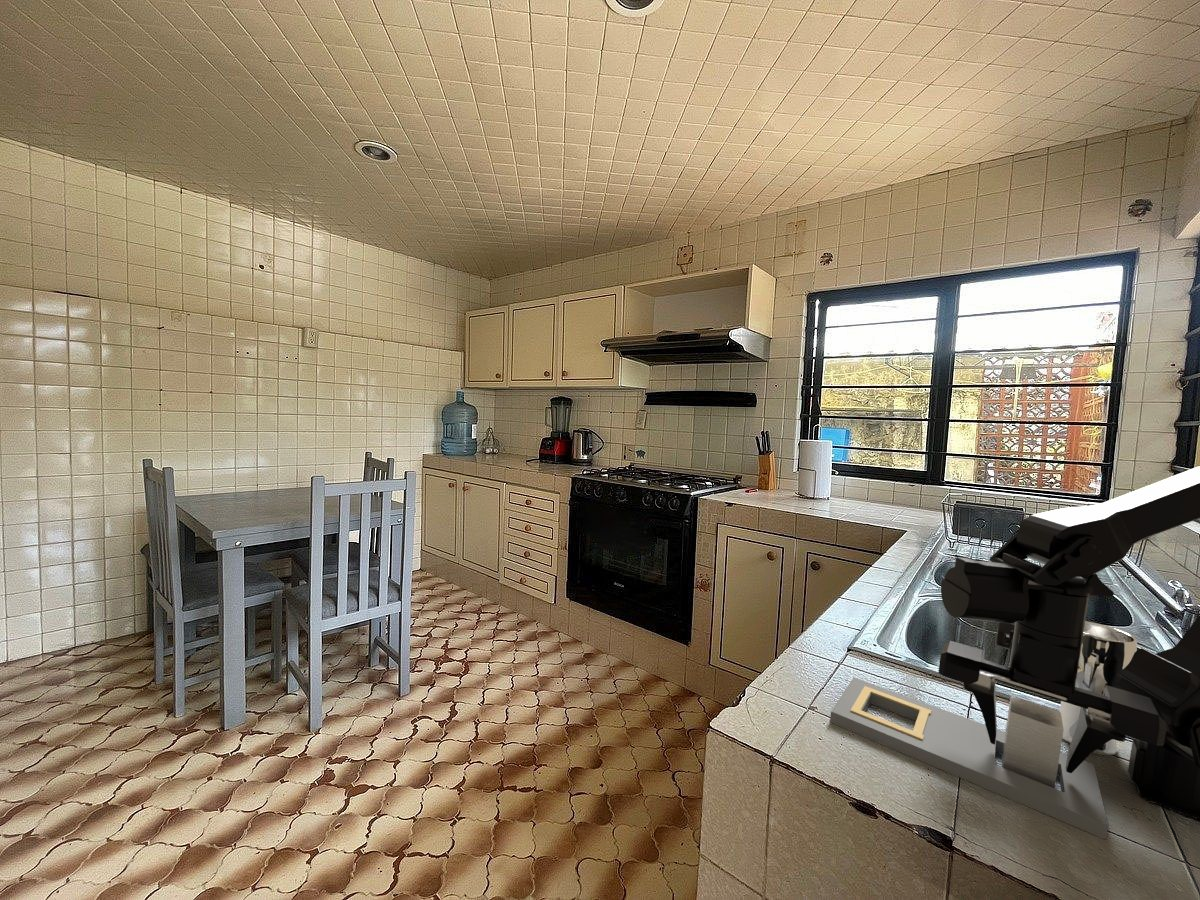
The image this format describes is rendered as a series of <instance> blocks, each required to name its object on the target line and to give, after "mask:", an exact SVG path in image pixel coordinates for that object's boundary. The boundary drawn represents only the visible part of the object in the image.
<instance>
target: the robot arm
mask: <svg viewBox="0 0 1200 900" xmlns="http://www.w3.org/2000/svg"><path fill="white" fill-rule="evenodd" d="M1197 520H1200V465H1199V466H1196V467H1194V468H1191V469H1188V470H1186V471H1184V472H1180V473H1177V474H1174V475H1172V476H1169V477H1168V478H1164V479H1162V480H1159V481H1157V482H1154V483H1152V484H1150V485H1146V486H1143V487H1140V488H1139V489H1136V490H1133V491H1130V492H1127V493H1126V494H1123V495H1120V496H1117V497H1115V498H1112V499H1109V500H1107V501H1104V502H1101V503H1096V504H1092V505H1085V506H1083V505H1082V506H1072V507H1071V506H1070V507H1069V506H1068V507H1062V508H1057V509H1052V510H1048V511H1043V512H1038V513H1035V514H1031V515H1030V516H1027V517H1026V518H1024V519H1023V520H1022V521H1021V522H1020V523H1019V528H1018V530H1017V532H1016V533H1014V534H1013V536H1012V537H1010V538H1009V539H1008V540H1007V541H1006V542H1005V543H1004V544H1003V545H1001V547H1000V548H999V549H998V550H997V551H995V552H994V553H993V555H992V554H991V556H990V557H989V561H983V560H975V559H971V558H969V557H968V558H967V557H956V558H955V562H954V563H955V564H954V566H953V567H950V568H949V569H947V572H945V575H944V578H941V582H940V583H941V584H940V593H941V594H940V596H941V599H942V603H943V607H944V608H945V610H946V612H947V613H948V614H949V616H951V617H952V618H956V619H965V620H971V621H972V620H974V621H982V622H983V621H984V622H989V623H990V622H992V623H998V625H997V631H996V636H995V637H996V638H995V646H996V647H1000V648H1003V649H1007V650H1009V653H1008V663H1009V664H1008V666H1007V665H1002V664H999V663H997V662H993V661H990V660H986V659H983V651H984V650H983V649H982V648H979V647H978V648H977V647H974V646H971V645H967V644H965V643H960V642H956V641H953V640H948V641H946V642H945V643H944V644H943V647H942V650H941V653H940V657H939V665H938V671H937V672H938V674H939V675H941V676H943V677H945V678H948V679H951V680H954V681H957V682H960V683H963V684H962V687H963V689H964V690H966V691H967V692H971V693H972V694H973V696H974V698H975V700H976V702H977V705H978V707H979V709H980V711H981V714H982V717H983V721H984V725H986V728H987V732H988V735H989V739H990V742H991V743H992V744H994V745H995V741H996V732H997V729H998V728H997V725H998V724H997V702H996V701H997V699H996V697H997V696H996V695H997V694H996V691H997V689H996V686H997V685H996V681H997V682H1000V683H1003V684H1006V685H1009V686H1013V687H1016V688H1019V689H1021V690H1022V689H1023V690H1026V691H1029V692H1031V693H1032V692H1033V693H1035V694H1039V695H1042V696H1044V697H1048V698H1050V699H1053V700H1054V699H1055V700H1057V701H1060V702H1061V701H1063V702H1067V703H1070V704H1073V705H1076V706H1079V707H1081V709H1080V714H1079V720H1078V723H1077V726H1076V730H1075V733H1074V736H1073V739H1072V742H1071V744H1070V746H1069V748H1068V751H1067V753H1066V754H1067V762H1066V771H1067V772H1068V773H1072V772H1073V771H1074V770H1075V769H1076V768H1077V767H1078V766H1079V765H1080V764H1081V763H1082V762H1083V761H1086V759H1087V758H1089V756H1090V755H1091V754H1093V753H1092V752H1093V751H1095V750H1096V749H1098V748H1099V747H1101V746H1102V745H1104V744H1105V743H1107V742H1108V741H1110V740H1112V739H1114V740H1116V742H1117V741H1118V742H1122V743H1123V742H1124V743H1125V741H1126V737H1129V738H1132V741H1131V742H1132V744H1131V749H1130V755H1129V762H1128V767H1127V771H1128V773H1129V777H1130V780H1131V782H1132V783H1134V784H1135V787H1136V790H1137V793H1138V796H1139V797H1140V798H1142V799H1144V800H1145V801H1149V802H1151V803H1153V804H1156V805H1159V806H1161V807H1164V808H1167V809H1169V810H1172V811H1174V812H1177V813H1180V814H1183V815H1185V816H1187V817H1191V818H1193V819H1196V820H1199V821H1200V614H1199V615H1198V616H1197V618H1196V619H1195V620H1194V621H1193V623H1192V624H1191V625H1190V627H1189V628H1188V630H1186V631H1185V633H1184V635H1183V636H1182V637H1181V639H1179V641H1178V642H1177V644H1176V645H1174V646H1173V647H1171V648H1168V649H1165V650H1162V651H1159V652H1156V653H1154V652H1153V651H1150V650H1147V649H1146V648H1143V647H1141V648H1139V649H1137V651H1136V652H1135V653H1134V655H1133V657H1132V659H1131V661H1130V663H1129V664H1128V665H1127V666H1126V667H1125V668H1124V669H1122V670H1121V671H1119V672H1118V673H1117V674H1118V675H1120V676H1121V677H1122V678H1121V679H1120V681H1119V683H1118V685H1117V688H1114V687H1111V686H1107V685H1106V686H1105V688H1104V690H1103V695H1102V694H1098V693H1095V692H1091V691H1088V690H1085V689H1081V688H1078V687H1075V685H1076V679H1077V672H1078V666H1079V659H1080V653H1081V646H1082V640H1083V633H1084V626H1085V621H1086V618H1087V611H1088V606H1089V599H1090V596H1093V597H1095V596H1096V597H1104V598H1105V597H1107V598H1111V597H1114V595H1115V592H1114V591H1113V590H1112V589H1111V588H1109V586H1107V584H1105V583H1104V582H1103V581H1102V580H1101V578H1100V577H1099V576H1098V574H1097V573H1099V572H1101V571H1103V570H1105V569H1107V568H1109V567H1110V566H1113V565H1114V564H1116V563H1118V562H1119V561H1121V560H1123V559H1124V558H1125V557H1126V556H1127V554H1128V553H1129V551H1130V550H1131V548H1132V546H1134V545H1135V544H1137V543H1139V542H1141V541H1142V540H1145V539H1147V538H1150V537H1154V536H1156V535H1158V534H1160V533H1161V534H1162V533H1164V532H1167V531H1170V530H1172V529H1175V528H1177V527H1180V526H1182V525H1185V524H1188V523H1191V522H1193V521H1197ZM1027 559H1031V560H1032V561H1035V562H1038V563H1040V564H1042V566H1041V565H1039V564H1036V563H1035V562H1032V561H1030V560H1027Z"/></svg>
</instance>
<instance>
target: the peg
mask: <svg viewBox="0 0 1200 900" xmlns="http://www.w3.org/2000/svg"><path fill="white" fill-rule="evenodd" d="M1009 697H1010V698H1009V705H1008V706H1009V707H1008V711H1007V712H1008V713H1007V719H1006V726H1005V731H1004V732H1005V739H1004V746H1003V753H1002V754H1001V765H1000V767H1002V768H1004V769H1007V770H1009V771H1012V772H1014V773H1017V774H1019V775H1022V776H1024V777H1027V778H1029V779H1032V780H1035V781H1037V782H1040V783H1042V784H1045V785H1047V786H1050V787H1052V788H1055V789H1056V782H1057V770H1058V763H1059V757H1060V752H1061V749H1062V742H1063V739H1062V737H1063V731H1064V729H1063V723H1062V717H1061V712H1059V710H1056V709H1052V708H1050V707H1046V706H1044V705H1040V704H1037V703H1034V702H1031V701H1029V700H1025V699H1022V698H1018V697H1016V696H1013V695H1010V696H1009Z"/></svg>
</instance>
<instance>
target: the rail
mask: <svg viewBox="0 0 1200 900" xmlns="http://www.w3.org/2000/svg"><path fill="white" fill-rule="evenodd" d="M870 705H873V706H876V707H879V708H882V709H884V710H886V711H889V712H892V713H894V714H897V715H900V716H902V717H905V718H907V719H910V720H912V721H915V723H914V727H913V729H909V728H907V727H904V726H902V725H899V724H896V723H894V722H891V721H889V720H887V719H884V718H882V717H879V716H876V715H874V714H871V713H869V712H867V710H868V708H869V707H870ZM829 718H830V719H829V723H831V724H833V725H837V726H838V727H841V728H843V729H845V730H848V731H851V732H852V733H855V734H857V735H860V736H862V737H865V738H866V739H869V740H871V741H873V742H876V743H879V744H880V745H884V746H885V747H887V748H890V749H892V750H895V751H897V752H899V753H902V754H904V755H907V756H909V757H910V758H913V759H916V760H918V761H920V762H922V763H925V764H928V765H930V766H931V767H935V768H937V769H940V770H942V771H943V772H946V773H949V774H952V775H954V776H955V777H957V778H960V779H962V780H965V781H967V782H970V783H972V784H974V785H977V786H979V787H982V788H984V789H986V790H988V791H991V792H993V793H995V794H998V795H1000V796H1003V797H1005V798H1007V799H1010V800H1012V801H1015V802H1017V803H1019V804H1021V805H1024V806H1026V807H1028V808H1031V809H1034V810H1036V811H1038V812H1041V814H1044V815H1047V816H1049V817H1052V818H1054V819H1056V820H1059V821H1061V822H1063V823H1066V824H1067V825H1070V826H1073V827H1076V828H1077V829H1080V830H1083V831H1085V832H1088V833H1089V834H1092V835H1094V836H1096V837H1099V838H1102V839H1103V840H1107V835H1108V829H1109V824H1108V820H1107V815H1106V811H1105V806H1104V803H1103V798H1102V794H1101V793H1102V792H1101V790H1100V785H1099V781H1098V778H1097V773H1096V769H1095V764H1094V763H1092V762H1089V761H1086V760H1084V761H1083V762H1082V763H1081V764H1080V765H1079V766H1078V767H1077V768H1076V769H1075V770H1074V771H1073V772H1072V773H1068V772H1067V771H1066V762H1067V754H1068V753H1064V752H1061V751H1060V757H1059V763H1058V770H1057V776H1058V777H1059V778H1058V779H1059V786H1060V787H1059V788H1060V789H1057V788H1056V787H1055V788H1052V787H1050V786H1047V785H1045V784H1042V783H1040V782H1037V781H1035V780H1032V779H1029V778H1027V777H1024V776H1022V775H1019V774H1017V773H1014V772H1012V771H1009V770H1007V769H1004V768H1002V767H1001V766H999V765H996V764H995V761H996V753H998V754H1001V755H1002V753H1003V746H1004V739H1005V732H1006V731H1003V730H1001V729H998V728H997V732H996V741H995V745H994V744H992V743H991V742H990V739H989V735H988V732H987V728H986V725H985V723H982V722H978V721H976V720H973V719H971V718H967V717H965V716H962V715H961V714H960V715H959V714H957V713H954V712H952V711H951V712H950V711H949V710H945V709H942V708H939V707H937V706H935V705H932V704H929V703H926V702H924V701H920V700H917V699H915V698H912V697H909V696H907V695H904V694H902V693H899V692H896V691H893V690H891V689H888V688H884V687H882V686H879V685H876V684H874V683H871V682H868V681H865V680H863V679H861V678H857V677H855V676H854V677H852V679H851V680H850V681H849V683H848V685H847V687H845V689H844V691H843V693H842V694H841V696H840V697H839V699H838V700H837V702H836V703H835V704H834V706H833V708H832V709H831V711H830V717H829ZM1057 776H1056V777H1057Z"/></svg>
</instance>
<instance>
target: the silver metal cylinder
mask: <svg viewBox="0 0 1200 900" xmlns="http://www.w3.org/2000/svg"><path fill="white" fill-rule="evenodd" d="M1137 650H1138V639H1137V638H1136V636H1134V635H1131V634H1130V633H1128V632H1126V631H1123V630H1121V629H1117V628H1115V627H1112V626H1108V625H1106V624H1102V623H1101V624H1100V623H1097V622H1094V621H1092V622H1091V621H1086V620H1085V626H1084V633H1083V640H1082V646H1081V653H1080V659H1079V666H1078V672H1077V679H1076V685H1075V687H1078V688H1081V689H1085V690H1088V691H1091V692H1095V693H1098V694H1102V695H1103V690H1104V688H1105V686H1106V685H1107V686H1111V687H1114V688H1117V685H1118V683H1119V681H1120V679H1121V678H1122V677H1121V676H1120V675H1118V674H1117V673H1118V672H1119V671H1121V670H1122V669H1124V668H1125V667H1126V666H1127V665H1128V664H1129V663H1130V661H1131V659H1132V657H1133V655H1134V653H1135V652H1136V651H1137ZM1080 709H1081V707H1079V706H1076V705H1073V704H1070V703H1067V702H1063V701H1060V706H1059V710H1058V711H1059V712H1061V717H1062V723H1063V729H1064V731H1063V737H1062V741H1064V742H1066V743H1068V744H1070V745H1071V742H1072V739H1073V736H1074V733H1075V730H1076V726H1077V723H1078V720H1079V714H1080ZM1117 746H1118V745H1117V740H1114V739H1112V740H1110V741H1108V742H1107V743H1105V744H1104V745H1102V746H1101V747H1099V748H1098V749H1096V750H1095V751H1093V752H1092V753H1091V754H1095V755H1100V756H1114V755H1116V754H1117V751H1118V749H1117V748H1118V747H1117Z"/></svg>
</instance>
